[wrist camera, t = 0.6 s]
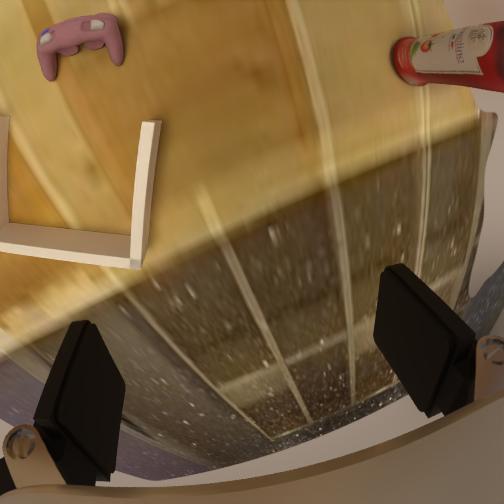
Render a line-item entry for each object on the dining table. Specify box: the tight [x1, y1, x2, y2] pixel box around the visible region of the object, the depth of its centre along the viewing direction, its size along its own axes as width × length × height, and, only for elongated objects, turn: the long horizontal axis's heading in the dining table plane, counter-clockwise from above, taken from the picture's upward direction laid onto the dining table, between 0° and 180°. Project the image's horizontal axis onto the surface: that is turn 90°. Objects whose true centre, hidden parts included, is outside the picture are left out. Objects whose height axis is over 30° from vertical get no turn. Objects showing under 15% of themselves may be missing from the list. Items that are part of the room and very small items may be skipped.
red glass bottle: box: [394, 21, 504, 93], centre depth 20 cm, size 7×7×28 cm
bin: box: [0, 116, 162, 270], centre depth 30 cm, size 15×21×6 cm
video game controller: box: [37, 13, 123, 81], centre depth 24 cm, size 10×5×7 cm, turn 91°
